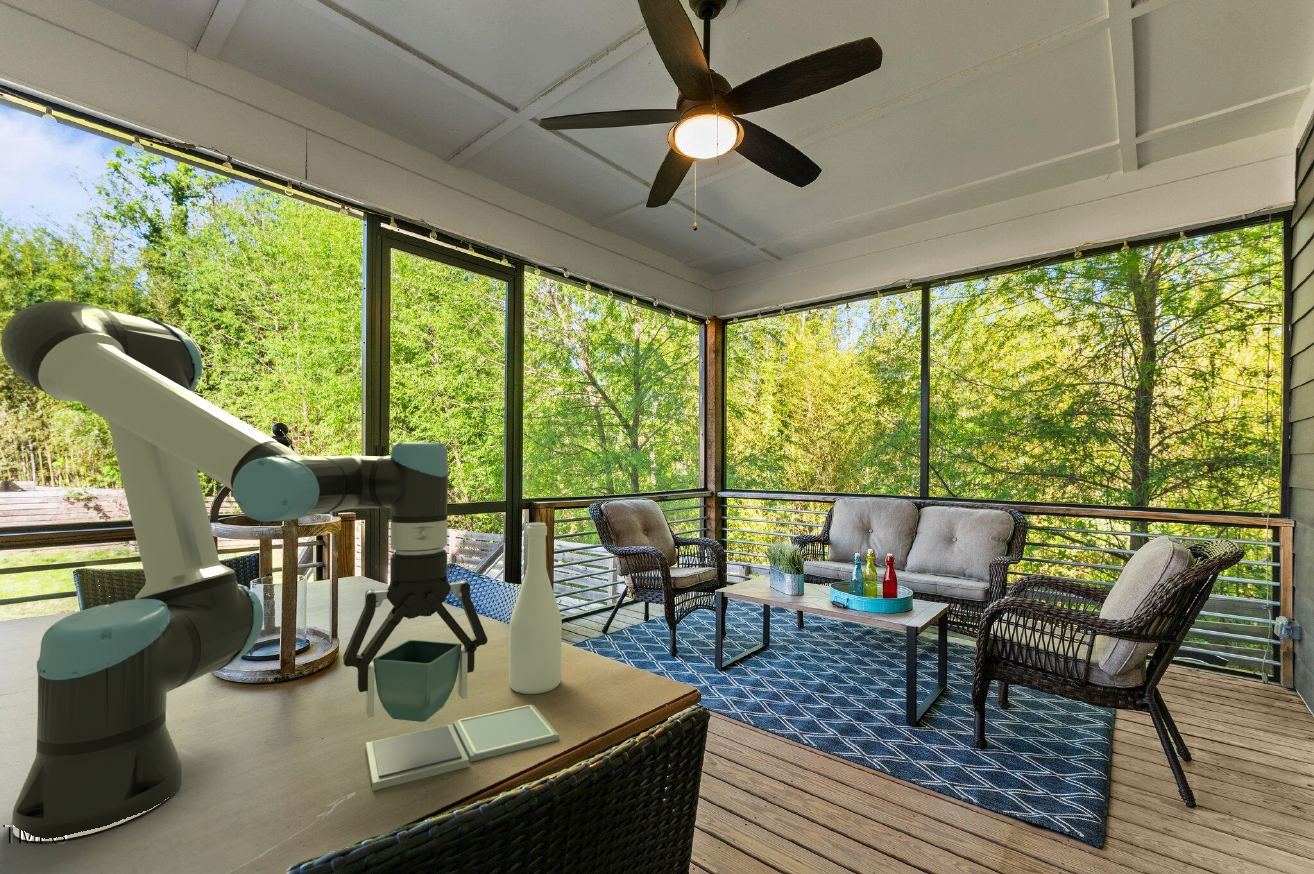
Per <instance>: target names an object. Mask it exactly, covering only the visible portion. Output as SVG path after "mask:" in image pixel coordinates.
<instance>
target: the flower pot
mask: <svg viewBox="0 0 1314 874" xmlns="http://www.w3.org/2000/svg"><path fill="white" fill-rule="evenodd" d="M462 645H463V644H462V643H458V642H448V641H447V642H446V641H445V642H443V641H431V640H423V639H422V640H421V639H420V640H418V639H408V640H405V641H403V642H402V643H400V644H399V645H397V646H395V647H393V648H391V649H389V650H388V651H386V652H384V653H382V654H380V655H378V656H375V657H374V658H373V660H372V662H373V664H374V668H375V669H374V680H375V685H376V692H377V695H378V698H379V701H380V704H381V706H382V707H383V709H384V710H385V712H386V713H387V714H388V715H389V717H390V718H391V719H392V720H399V721H410V722H418V723H420V722H421V723H424V722H426V721H428V720H429V719H431V718H432V717H433V716H434V715H435V714H436V713H438V711H440V710H441V709H443V708H444V706H445V704H446V703H447V701H448V699H449V698H450V695H451V694H452V692H453V690H454V687H455V684H456V683H457V679H458V667H459V660H460V651H461V648H462Z"/></svg>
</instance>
